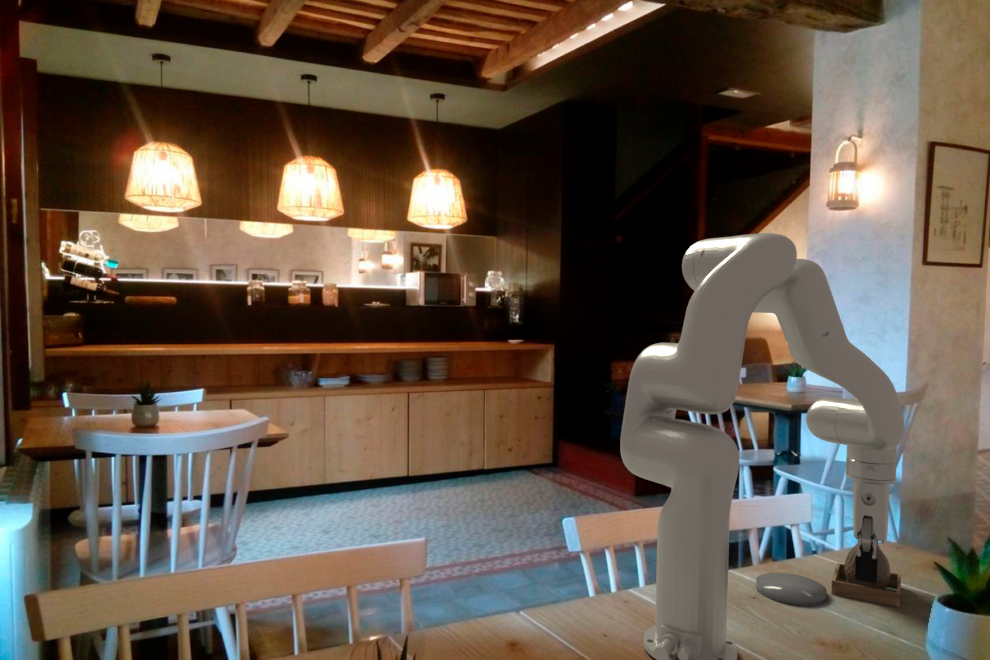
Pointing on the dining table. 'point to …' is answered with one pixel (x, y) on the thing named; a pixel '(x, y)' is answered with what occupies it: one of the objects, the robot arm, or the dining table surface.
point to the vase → (882, 569)
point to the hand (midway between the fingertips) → (867, 572)
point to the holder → (866, 589)
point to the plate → (791, 589)
